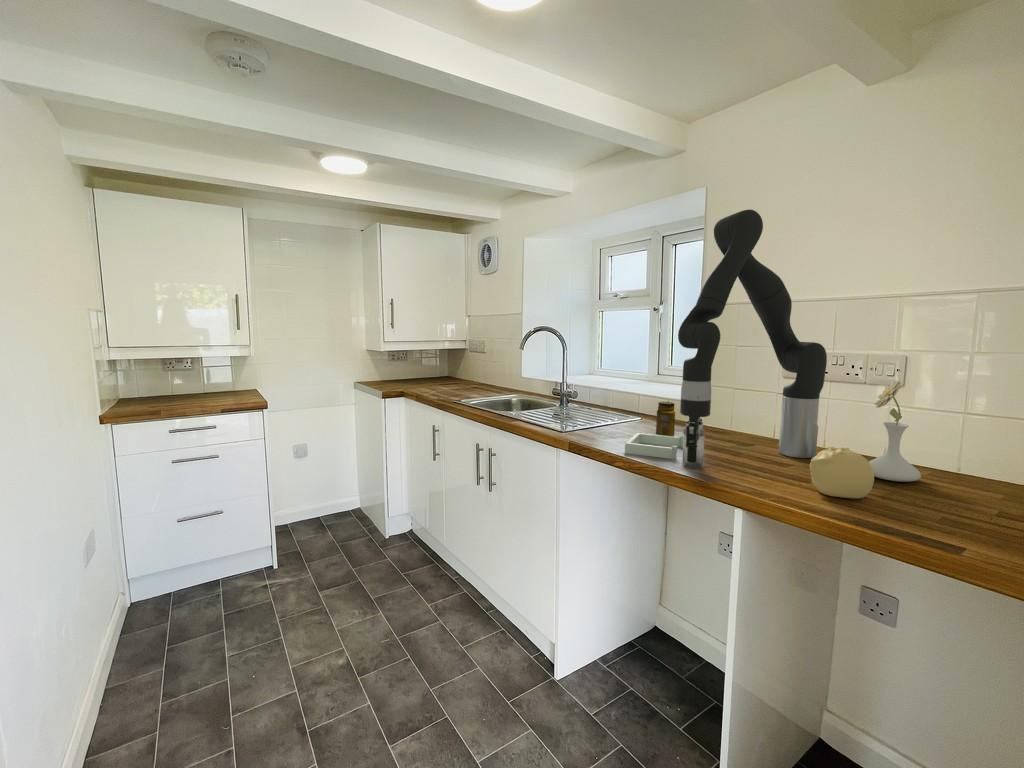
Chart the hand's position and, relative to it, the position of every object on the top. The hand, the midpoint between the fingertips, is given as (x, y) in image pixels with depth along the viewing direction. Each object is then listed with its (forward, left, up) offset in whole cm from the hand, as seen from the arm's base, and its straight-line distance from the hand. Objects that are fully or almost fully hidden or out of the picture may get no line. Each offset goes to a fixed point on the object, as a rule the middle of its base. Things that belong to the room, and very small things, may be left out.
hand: (692, 459), depth 128 cm
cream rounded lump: (-32, +8, -2) cm, 33 cm away
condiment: (+13, -32, -2) cm, 35 cm away
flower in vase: (-45, -11, -2) cm, 46 cm away
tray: (+12, -13, -2) cm, 18 cm away
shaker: (0, 0, -2) cm, 2 cm away
